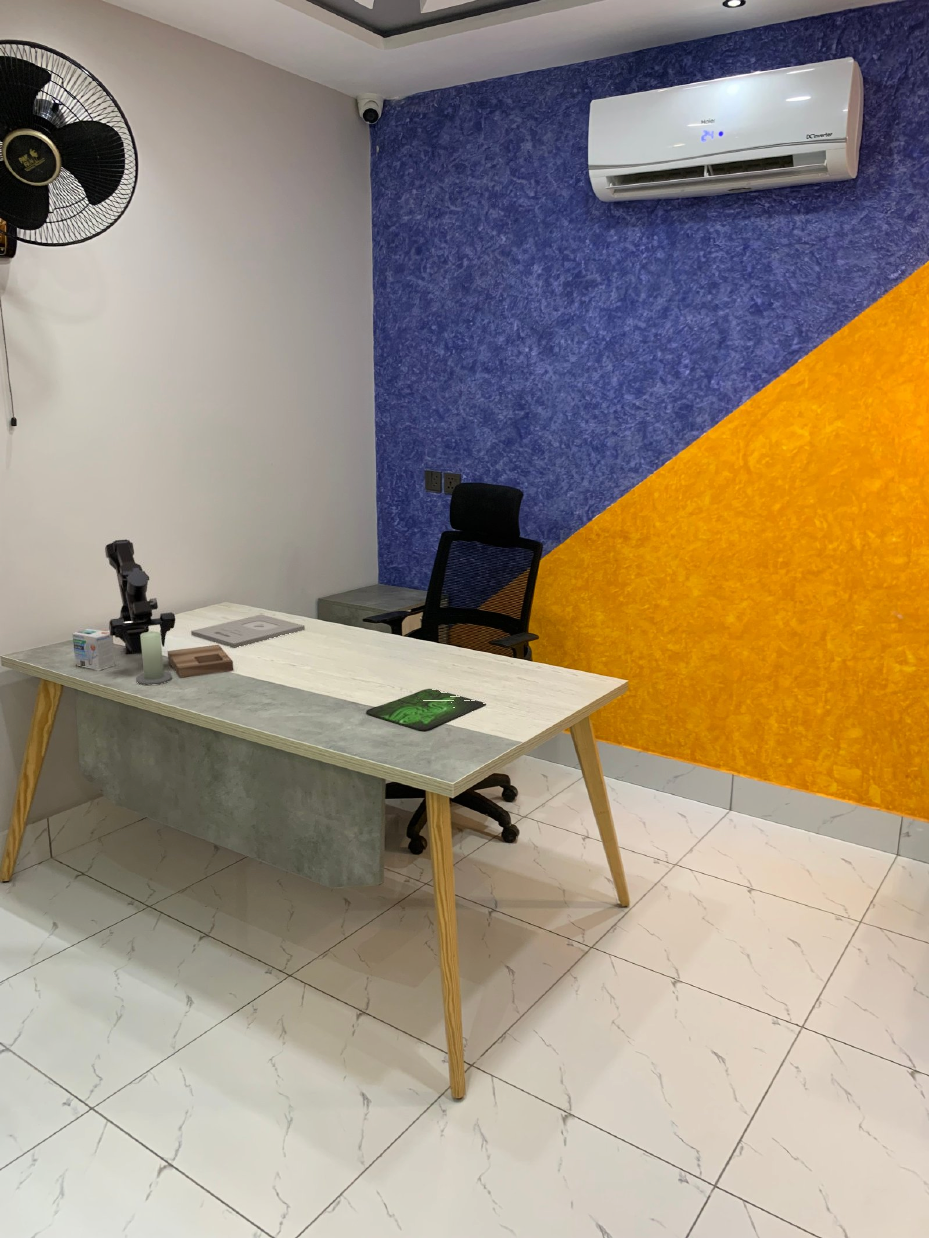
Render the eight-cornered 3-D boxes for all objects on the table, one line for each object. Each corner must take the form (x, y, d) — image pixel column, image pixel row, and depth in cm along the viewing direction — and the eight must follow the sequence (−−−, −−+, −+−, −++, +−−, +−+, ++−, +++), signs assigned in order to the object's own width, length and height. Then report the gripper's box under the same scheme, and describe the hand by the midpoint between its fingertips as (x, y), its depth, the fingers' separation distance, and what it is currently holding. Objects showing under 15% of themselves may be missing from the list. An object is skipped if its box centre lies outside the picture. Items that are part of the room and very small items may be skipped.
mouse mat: (429, 688, 263) (429, 685, 263) (490, 704, 250) (490, 701, 250) (362, 715, 243) (362, 711, 242) (424, 734, 229) (424, 730, 229)
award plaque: (191, 636, 318) (191, 630, 317) (261, 620, 340) (261, 614, 339) (234, 649, 302) (233, 643, 301) (304, 631, 324) (304, 625, 324)
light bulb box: (75, 666, 283) (71, 632, 280) (92, 660, 289) (89, 627, 286) (99, 671, 278) (95, 637, 275) (116, 665, 284) (113, 632, 281)
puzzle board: (168, 660, 289) (167, 651, 288) (219, 653, 296) (218, 644, 295) (179, 677, 272) (178, 668, 271) (233, 670, 279) (232, 661, 278)
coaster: (134, 677, 272) (133, 674, 272) (168, 672, 277) (168, 669, 276) (138, 687, 264) (138, 684, 263) (174, 682, 268) (174, 679, 268)
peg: (148, 673, 273) (144, 631, 269) (166, 673, 272) (163, 631, 269) (141, 679, 267) (137, 636, 264) (159, 679, 267) (155, 636, 264)
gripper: (106, 593, 269) (116, 638, 263) (171, 586, 278) (182, 630, 271) (105, 612, 278) (114, 657, 272) (168, 605, 287) (178, 648, 280)
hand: (147, 648), depth 273 cm, fingers open, 9 cm apart
